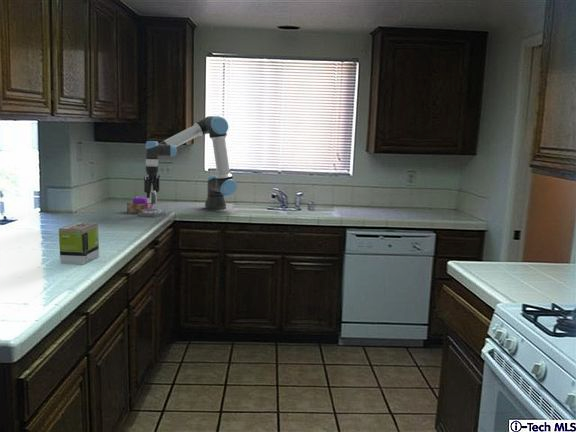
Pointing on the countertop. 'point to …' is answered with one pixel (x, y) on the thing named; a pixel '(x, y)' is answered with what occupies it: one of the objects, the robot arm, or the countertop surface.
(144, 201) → the toy camera
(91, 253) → the tea box
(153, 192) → the lens
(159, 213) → the mount
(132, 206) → the stop bar
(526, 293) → the countertop surface
